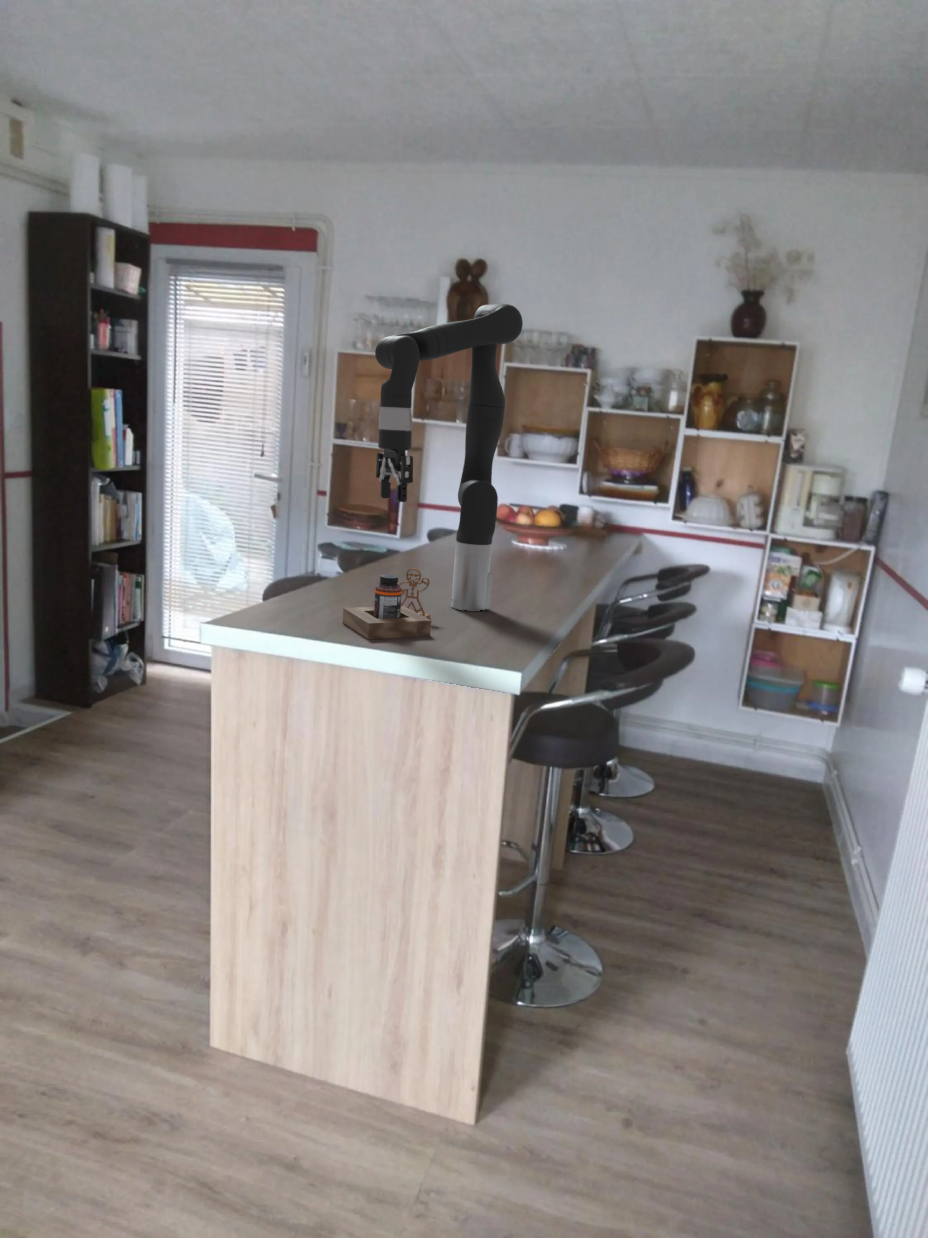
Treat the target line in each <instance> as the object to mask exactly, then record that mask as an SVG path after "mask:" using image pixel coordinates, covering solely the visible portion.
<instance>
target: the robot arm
mask: <svg viewBox="0 0 928 1238" xmlns="http://www.w3.org/2000/svg"><path fill="white" fill-rule="evenodd" d="M523 323H524V322H523V317H522V313H521V311H520V310H519V309H518V308H517V307H516V306H514V305H512V304H509V303H508V304H507V303H495V304H494V303H492V304H489V303H488V304H483V305H481V306H480V307H478V308H477V310H475V314H474V315H473V318H471V319H467V320H459V321H458V320H457V321H451V322H446V323H439V324H436V325H432V326H428V327H427V326H426V327H425V328H422V329H418V330H415V331H411V332H405V333H400V334H395V335H389V336H386V337H383V338H381V340H379V342H378V343H377V345H376V347H375V350H374V351H375V352H374V356H375V359H376V361H377V363H378V364H379V366H381V367H383V368H385V369H388V370H391V372H390V376H389V378H388V379H386V380H384V381H383V382H382V383H381V387H380V401H379V402H380V404H379V405H380V407H379V414H378V438H377V439H378V443H377V444H378V445H377V447H378V448H379V449H380V450H383V452H377V454H376V465H375V466H376V467H375V468H376V469H375V477H376V479H379V482H380V498H381V499H390V498H391V484H392V483H391V480H392V478H393V477H394V478H395V480H396V483H397V485H396V501H397V502H398V503H405V502H407V500H408V486H409V485H410V484H412V483H413V482H414V479H413V478H414V456H412V455H406V451H411V449H412V438H413V437H412V436H413V430H412V429H413V415H412V413H413V411H412V402H413V401H412V399H413V391H412V390H413V387H414V384H415V380H416V377H417V373H418V370H419V369H418V368H419V365H420V362H421V361H422V362H425V361H432V360H435V359H439V358H441V357H445V356H448V355H451V354H455V353H458V352H462V351H465V350H468V349H471V366H470V367H471V369H470V381H469V383H470V384H469V393H468V394H469V395H468V400H467V411H466V418H465V419H466V420H465V421H466V422H465V441H464V442H465V443H464V444H465V445H464V447H465V448H464V462H463V468H462V473H461V478H460V483H459V487H458V492H457V500H458V503H459V505H460V514H459V522H458V523H459V524H458V528H457V530H456V536H455V537H456V538H455V547H454V549H455V550H454V562H453V575H452V576H453V577H452V588H451V600H450V601H451V603H450V607H451V608H453V609H455V610H459V611H464V610H467V611H466V612H481V611H480V610H483V611H486V610H490V607H491V606H490V605H491V595H492V584H493V583H492V582H493V573H492V572H490V568H491V567H490V566H491V557H492V546H493V538H494V534H495V529H496V523H497V516H498V515H497V513H498V505H499V503H498V502H499V500H498V499H499V497H498V492H497V489H496V487H494V486H493V483H492V478H493V477H492V475H493V474H492V473H493V462H494V457H495V453H496V450H497V448H498V444H499V441H500V439H501V434H502V430H503V426H504V417H505V410H506V409H505V408H506V397H505V393H504V389H503V386H502V384H501V381H500V378H499V376H498V372H497V366H496V365H497V364H496V362H497V361H496V360H497V349H498V348H497V346H498V345H505V344H509V343H512V342H513V341H516V339H518V337H519V336H520V334H521V332H522V329H523ZM485 609H486V610H485Z"/></svg>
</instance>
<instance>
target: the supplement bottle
mask: <svg viewBox="0 0 928 1238" xmlns="http://www.w3.org/2000/svg"><path fill="white" fill-rule="evenodd" d="M398 583H399V576H398V575H395V574H381V575H380V577H379V582H378V584H376V586H375V590H374V591H375V592H374V606H373V607H374V617H375V618H377V619H388V618H400V611H401V604H402V593H403V592H402V590H403V588H402V587H401V585H400V586H399V584H398Z"/></svg>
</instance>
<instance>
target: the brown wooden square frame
mask: <svg viewBox="0 0 928 1238" xmlns="http://www.w3.org/2000/svg"><path fill="white" fill-rule="evenodd" d="M418 613H419V612H418ZM418 613H416V612H415V610H412V609H410V608H407V607H406V606H404V605H402V606H401V611H400V618H388V619H377V618H375V617H374V606H358V607H355V606H354V607H343V609H342V624H344V625H345V624H346V625H345V626H347V627H348V628H350V629H351V630H353V629H354V630H353V631H355V632H356V631H357V632H356V633H358V634H359V635H361V636H362V637H364V638H365V639H366V640H379V638H381V639H393V638H395V639H397V638H398V639H399V638H414V637H415V638H417V637H429V636H431V632H432V620H431V619H427V618H426V617H424V616H422V615H420V614H418Z"/></svg>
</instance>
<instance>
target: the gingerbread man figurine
mask: <svg viewBox="0 0 928 1238" xmlns="http://www.w3.org/2000/svg"><path fill="white" fill-rule="evenodd" d="M411 571H416V572H417V573H415V574H414V573H413V572H411ZM411 577H415V579H413V578H411ZM405 578H406V581H402V582H400V583H399V584H398V585H399V586H400V587H401V585H402V584H408V586H409V587H410V588H411V589H410V590H411V592H410V595H408V594H409V588H408V587H406V588H404V589H402V595H404V594H405V598H404V599H403V601H401V606H404V604H405V602H406V600H407V599H414V600H416V602H417V603H418V606H419V608H418V609H416V606H415V604H414V602H413V600H412V601H410V603H408V605H407V607H406V608H408V609H410V607H411V606H412V607H413V611H414V612H416V613H418V614H420V615H422V616H424V617H426V618H427V619H429V620H431V614H430V613H425V610H424V608H423V606H422V603H421V602H420V599H419V594H420V593H419V592H423V591H425V590H427V589H428V587H429V585H430V579H429V578H428V577H426V576H425V577H423V578H422V574H421V571H420V570H419V569H417V568H414V567H413V568H410V569H408V570H407V572H406V573H405ZM424 580H427V582H426V581H424ZM422 584H424V585H425V588H423V589H417V590H416V595H415V592H414V590H415V588H417V586H418V585H422ZM402 595H401V596H402ZM414 595H415V596H414Z"/></svg>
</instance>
